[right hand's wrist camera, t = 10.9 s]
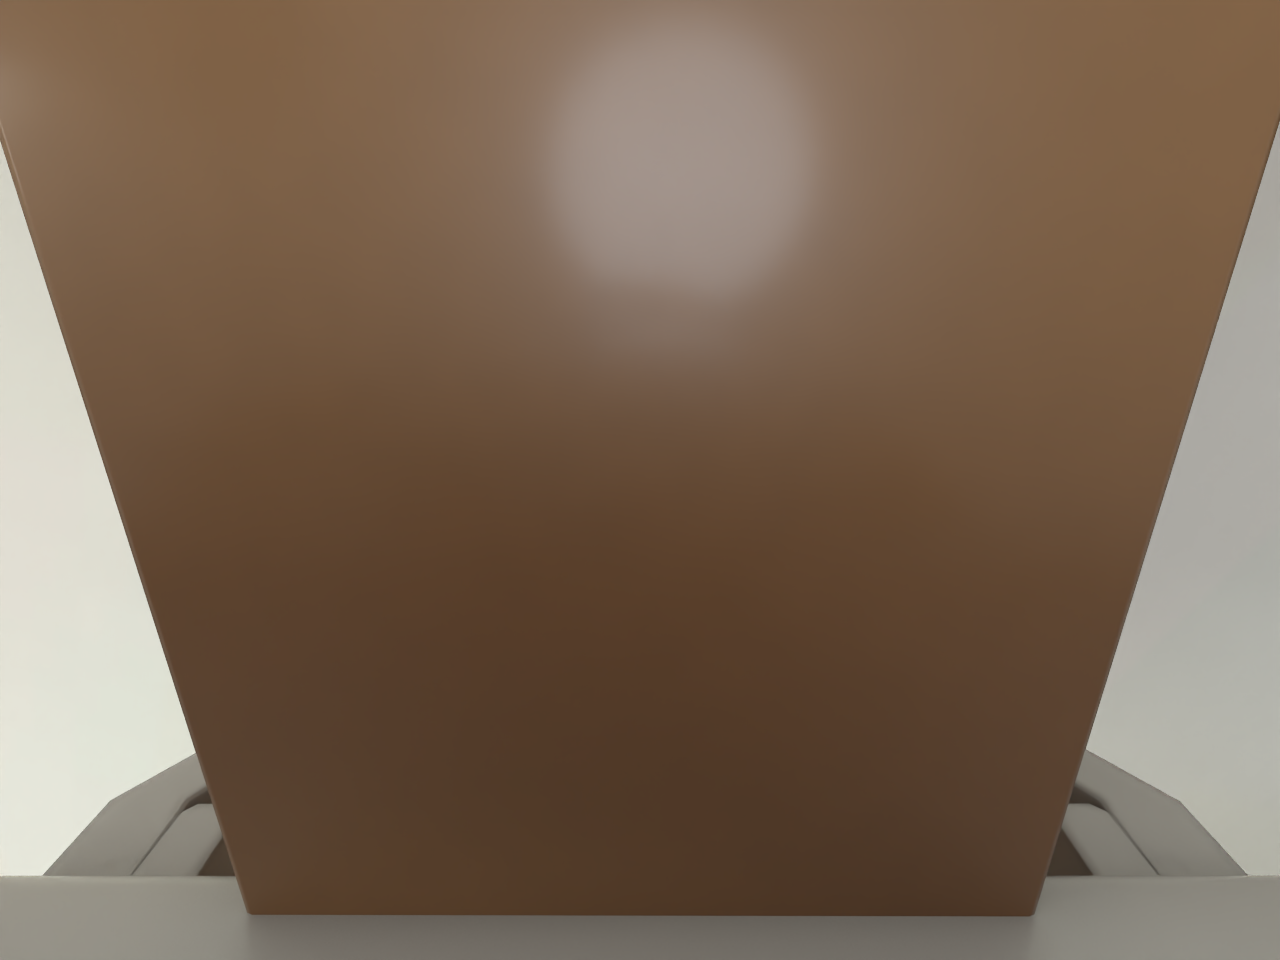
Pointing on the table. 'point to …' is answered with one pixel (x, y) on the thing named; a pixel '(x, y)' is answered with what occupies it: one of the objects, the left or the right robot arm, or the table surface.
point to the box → (639, 418)
